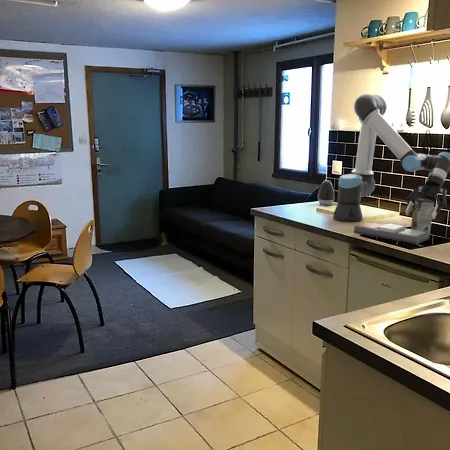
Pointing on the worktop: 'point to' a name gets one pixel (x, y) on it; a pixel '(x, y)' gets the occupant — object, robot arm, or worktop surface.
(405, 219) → the worktop surface
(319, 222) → the worktop surface
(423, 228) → the coffee box
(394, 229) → the key grey
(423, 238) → the keypad
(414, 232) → the key sage
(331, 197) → the dark grey egg shape
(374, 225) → the key terracotta
